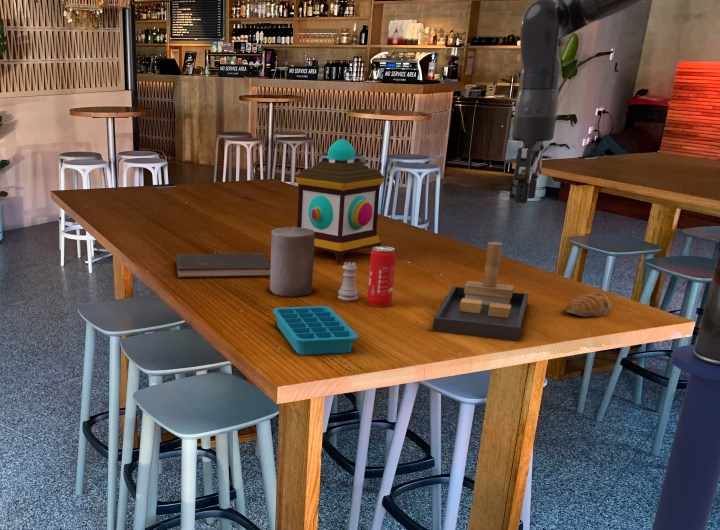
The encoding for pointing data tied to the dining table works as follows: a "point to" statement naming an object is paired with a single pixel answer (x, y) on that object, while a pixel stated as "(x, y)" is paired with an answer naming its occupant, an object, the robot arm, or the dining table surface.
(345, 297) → the rook chess piece
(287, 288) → the pillar candle
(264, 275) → the hardcover book
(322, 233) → the decorative lantern
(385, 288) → the beverage can
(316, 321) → the ice cube tray
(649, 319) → the dining table surface
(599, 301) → the pastry
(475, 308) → the light wooden block
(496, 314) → the block
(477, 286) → the brush
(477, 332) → the tray
